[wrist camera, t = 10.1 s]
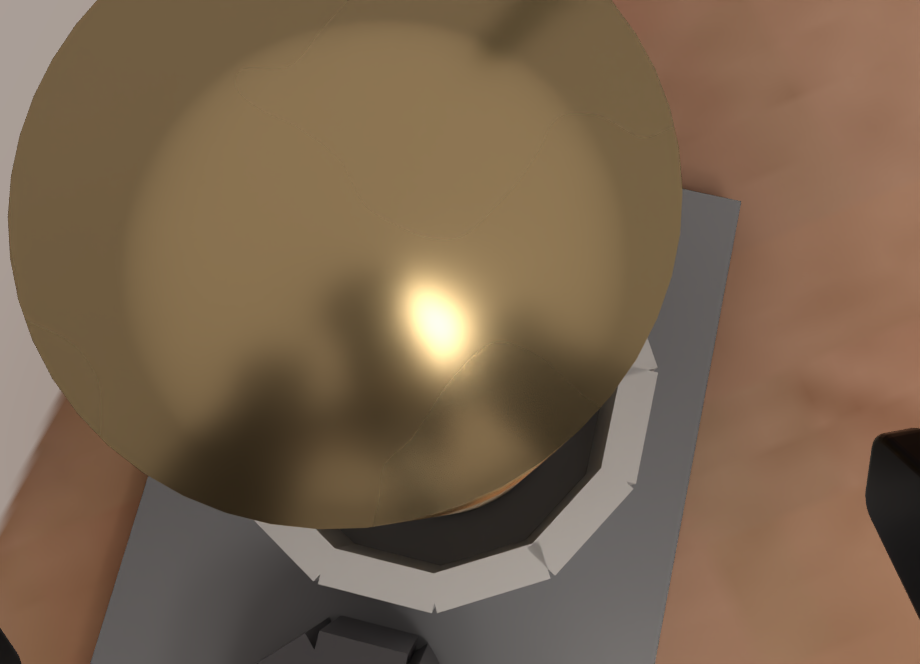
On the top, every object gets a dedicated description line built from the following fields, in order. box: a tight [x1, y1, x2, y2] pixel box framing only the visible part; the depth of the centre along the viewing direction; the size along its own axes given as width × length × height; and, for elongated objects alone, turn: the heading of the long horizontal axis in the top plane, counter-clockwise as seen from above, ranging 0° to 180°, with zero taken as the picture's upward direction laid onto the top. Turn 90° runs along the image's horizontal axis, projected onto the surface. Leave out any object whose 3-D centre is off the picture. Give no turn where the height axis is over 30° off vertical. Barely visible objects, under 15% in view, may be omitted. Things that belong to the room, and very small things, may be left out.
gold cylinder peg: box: [8, 0, 683, 529], centre depth 13 cm, size 5×5×13 cm
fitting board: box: [90, 189, 741, 664], centre depth 18 cm, size 17×12×3 cm
